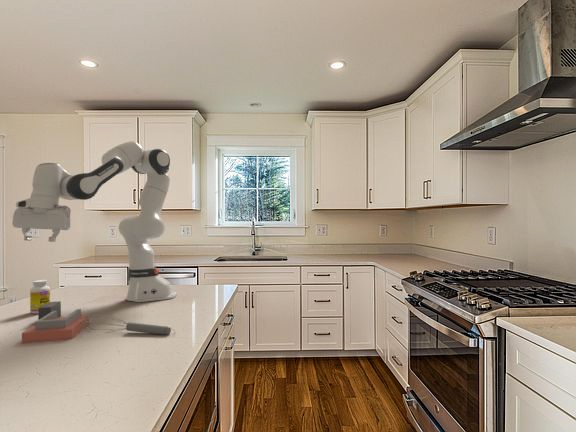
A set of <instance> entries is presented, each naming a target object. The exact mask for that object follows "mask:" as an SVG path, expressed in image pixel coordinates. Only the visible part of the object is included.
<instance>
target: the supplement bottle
mask: <svg viewBox="0 0 576 432" xmlns="http://www.w3.org/2000/svg"><path fill="white" fill-rule="evenodd" d="M47 284H48V280H47V279H38V280H33V281H32V285H33V287H30V291H29V293H30V294H29V300H30V301H29V305H30V306H29V311H30V314H33V315H34V314H35V315H38V308H39V307H41V306H43V305H45V304H47V303H48V302H51V288H50V286H48V285H47Z"/></svg>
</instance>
